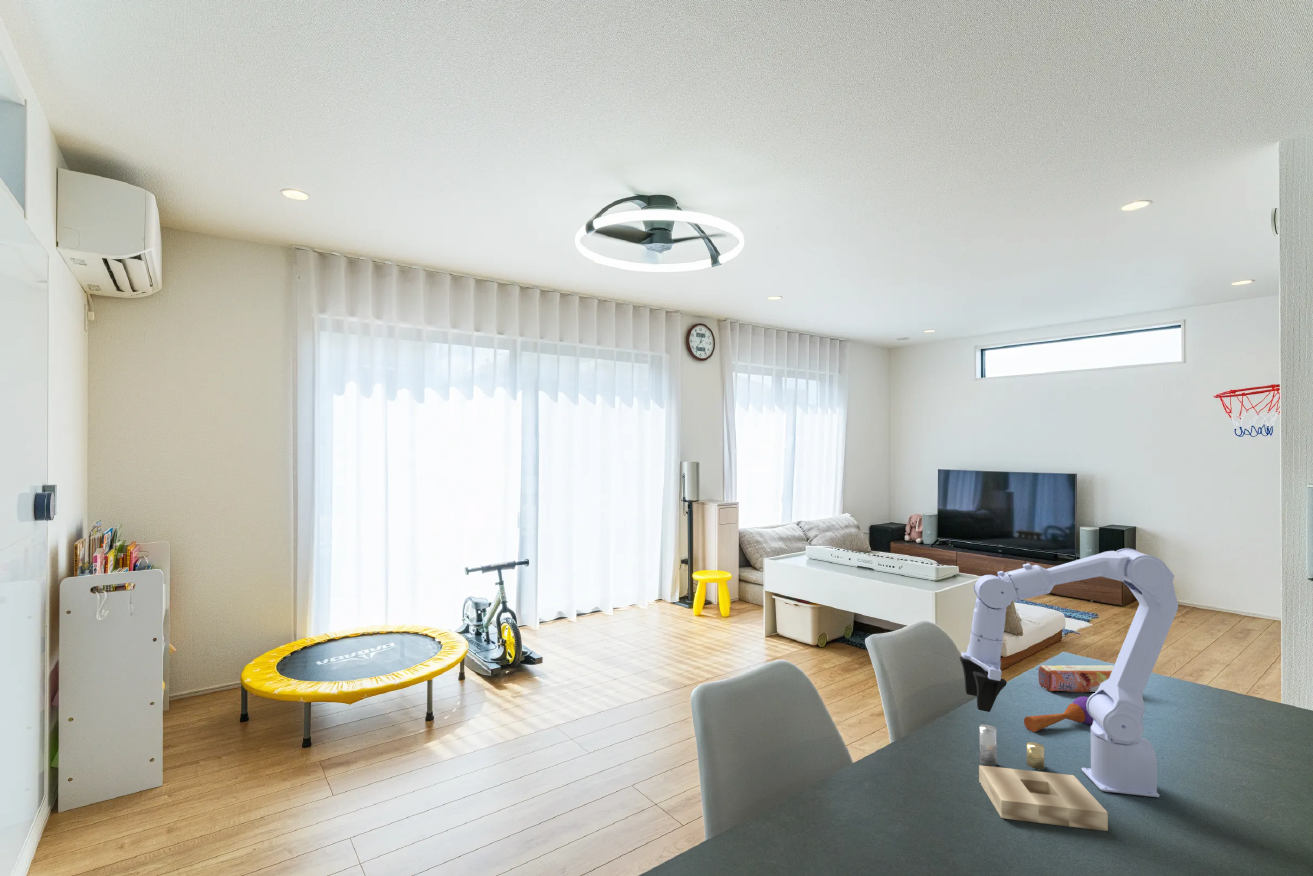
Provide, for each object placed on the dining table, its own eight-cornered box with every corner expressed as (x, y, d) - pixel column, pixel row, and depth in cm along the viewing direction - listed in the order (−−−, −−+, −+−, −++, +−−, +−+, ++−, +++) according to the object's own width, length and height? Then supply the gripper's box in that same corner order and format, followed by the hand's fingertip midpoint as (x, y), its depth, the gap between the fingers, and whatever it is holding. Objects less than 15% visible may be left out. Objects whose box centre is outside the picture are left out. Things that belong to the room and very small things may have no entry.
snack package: (1050, 694, 159) (1050, 668, 159) (1035, 685, 165) (1035, 660, 166) (1134, 697, 158) (1134, 670, 158) (1116, 687, 165) (1116, 662, 165)
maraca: (1016, 707, 140) (1081, 692, 146) (1022, 735, 139) (1087, 718, 145) (1038, 713, 135) (1105, 697, 141) (1044, 742, 134) (1112, 724, 139)
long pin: (993, 760, 123) (993, 725, 123) (998, 767, 120) (998, 731, 121) (977, 758, 124) (977, 723, 124) (982, 765, 121) (982, 730, 121)
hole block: (1073, 791, 112) (1073, 775, 112) (1107, 831, 100) (1107, 812, 100) (979, 781, 115) (979, 765, 115) (1001, 818, 103) (1001, 800, 103)
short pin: (1040, 763, 122) (1040, 742, 123) (1047, 770, 120) (1047, 750, 120) (1024, 761, 123) (1024, 741, 123) (1030, 768, 120) (1030, 748, 120)
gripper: (955, 621, 130) (946, 684, 131) (976, 643, 116) (967, 713, 116) (990, 628, 129) (982, 691, 129) (1016, 650, 115) (1007, 721, 115)
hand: (977, 702), depth 123 cm, fingers open, 7 cm apart
